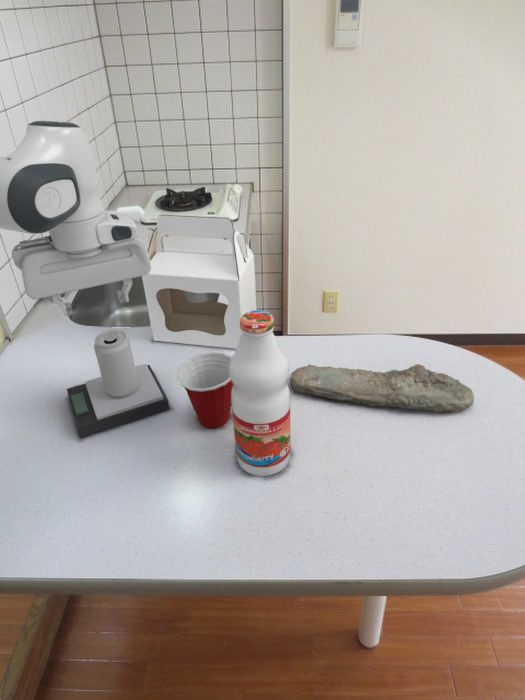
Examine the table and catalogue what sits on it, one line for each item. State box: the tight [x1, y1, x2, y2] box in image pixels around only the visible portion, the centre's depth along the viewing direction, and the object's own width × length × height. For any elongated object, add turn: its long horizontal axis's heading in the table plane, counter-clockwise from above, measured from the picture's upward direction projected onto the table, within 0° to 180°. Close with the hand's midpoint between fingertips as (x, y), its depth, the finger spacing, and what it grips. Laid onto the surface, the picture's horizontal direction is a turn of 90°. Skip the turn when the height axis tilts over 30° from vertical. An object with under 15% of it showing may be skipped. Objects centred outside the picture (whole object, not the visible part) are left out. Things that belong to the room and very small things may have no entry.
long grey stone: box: [288, 363, 475, 413], centre depth 102 cm, size 35×5×10 cm
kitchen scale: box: [66, 363, 170, 439], centre depth 103 cm, size 17×13×3 cm
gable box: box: [141, 214, 258, 350], centre depth 117 cm, size 22×13×28 cm, turn 77°
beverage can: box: [93, 329, 138, 397], centre depth 99 cm, size 6×6×12 cm
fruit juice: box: [229, 309, 292, 477], centre depth 83 cm, size 9×9×28 cm
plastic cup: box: [176, 351, 233, 430], centre depth 96 cm, size 11×11×12 cm
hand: (96, 307), depth 90 cm, fingers open, 8 cm apart
